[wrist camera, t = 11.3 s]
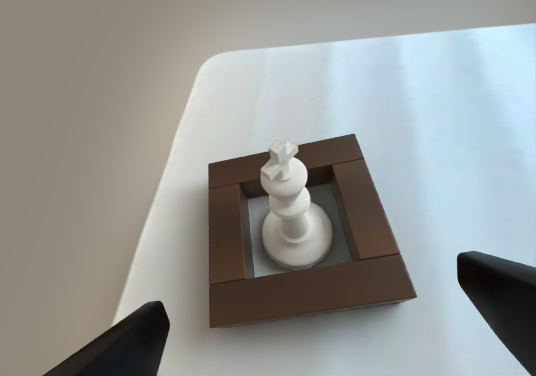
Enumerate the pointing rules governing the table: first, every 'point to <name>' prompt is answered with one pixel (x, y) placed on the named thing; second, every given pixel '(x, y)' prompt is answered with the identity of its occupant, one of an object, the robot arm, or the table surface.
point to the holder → (309, 280)
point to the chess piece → (292, 213)
